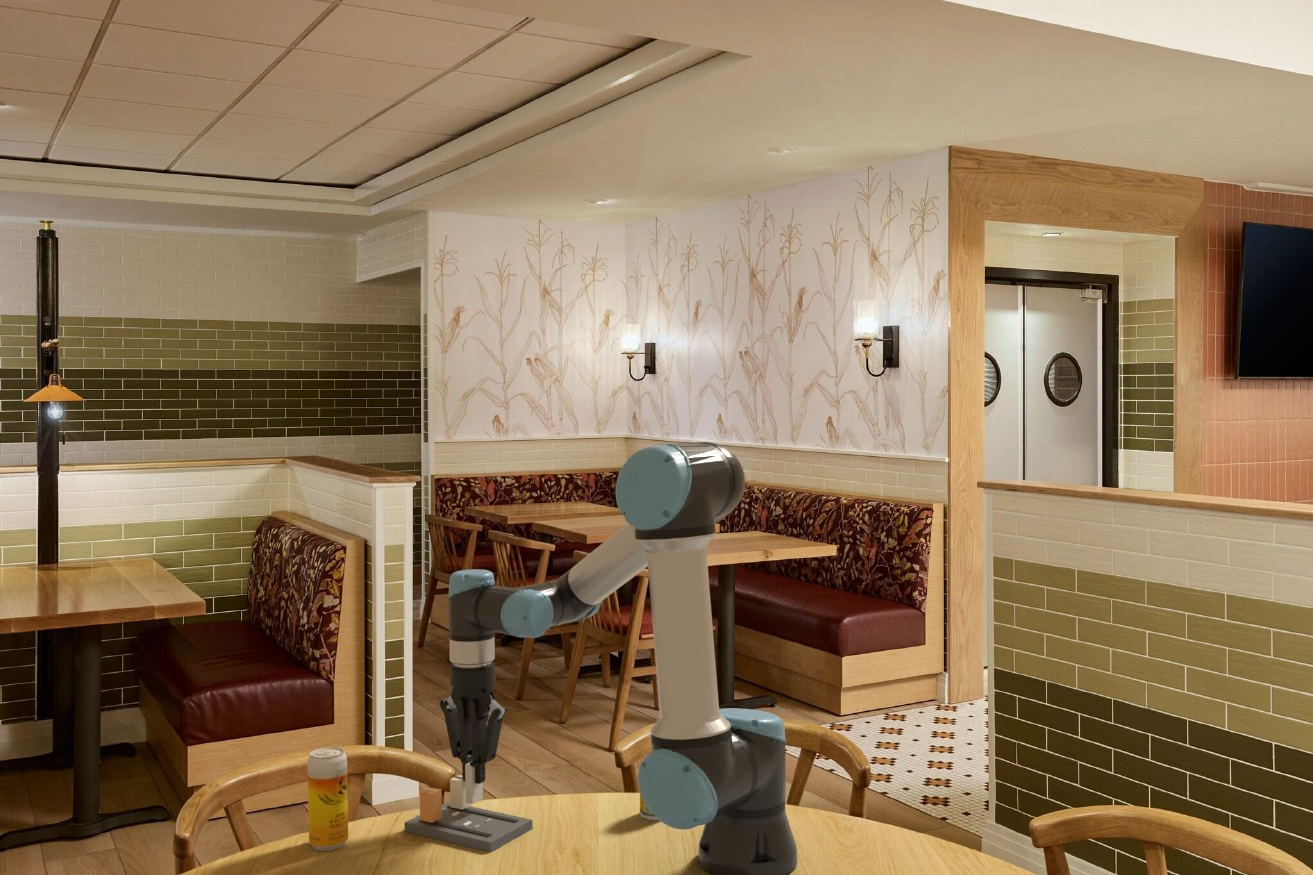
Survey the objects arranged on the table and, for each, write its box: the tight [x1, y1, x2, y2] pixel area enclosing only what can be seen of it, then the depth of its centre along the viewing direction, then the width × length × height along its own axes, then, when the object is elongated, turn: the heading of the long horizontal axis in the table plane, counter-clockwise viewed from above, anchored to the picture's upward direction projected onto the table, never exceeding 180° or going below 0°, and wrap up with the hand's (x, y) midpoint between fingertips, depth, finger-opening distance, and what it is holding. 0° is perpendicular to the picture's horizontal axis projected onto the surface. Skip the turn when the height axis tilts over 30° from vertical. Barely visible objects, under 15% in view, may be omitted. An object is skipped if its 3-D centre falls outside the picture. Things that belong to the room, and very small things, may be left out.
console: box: [404, 801, 533, 853], centre depth 187 cm, size 18×11×2 cm, turn 60°
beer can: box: [306, 746, 349, 852], centre depth 181 cm, size 6×6×15 cm
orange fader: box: [419, 786, 443, 823], centre depth 186 cm, size 3×2×5 cm
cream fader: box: [449, 774, 472, 810], centre depth 192 cm, size 3×2×5 cm
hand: (474, 800), depth 191 cm, fingers closed
